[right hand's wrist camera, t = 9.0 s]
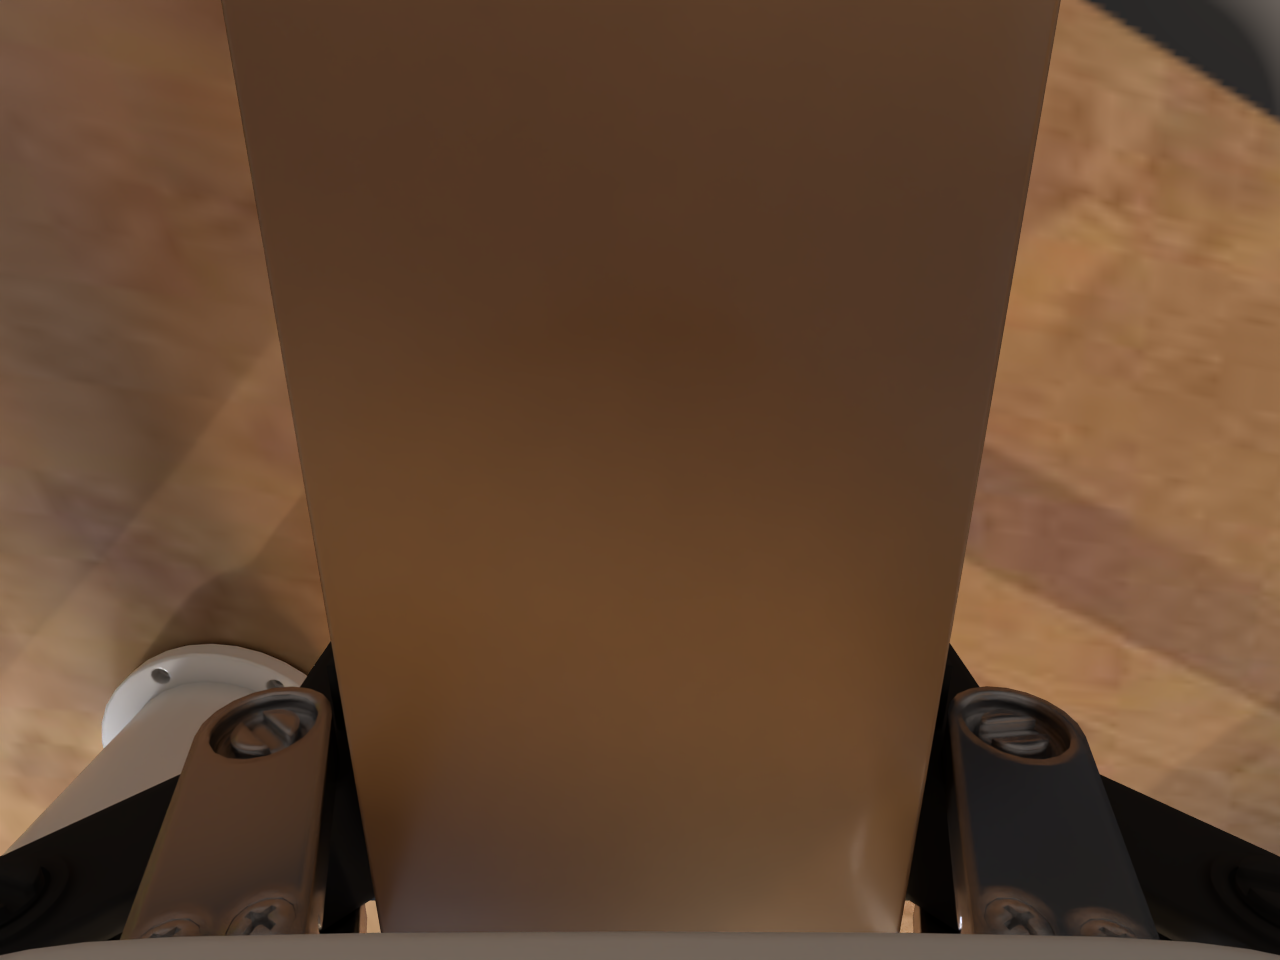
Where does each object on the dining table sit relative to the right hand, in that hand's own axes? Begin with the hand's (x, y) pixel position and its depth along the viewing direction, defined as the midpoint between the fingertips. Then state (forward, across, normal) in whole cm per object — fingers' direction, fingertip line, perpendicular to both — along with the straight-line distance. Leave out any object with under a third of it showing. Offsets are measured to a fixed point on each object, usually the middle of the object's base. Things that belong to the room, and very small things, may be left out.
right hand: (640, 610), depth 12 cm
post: (+2, 0, -24) cm, 24 cm away
